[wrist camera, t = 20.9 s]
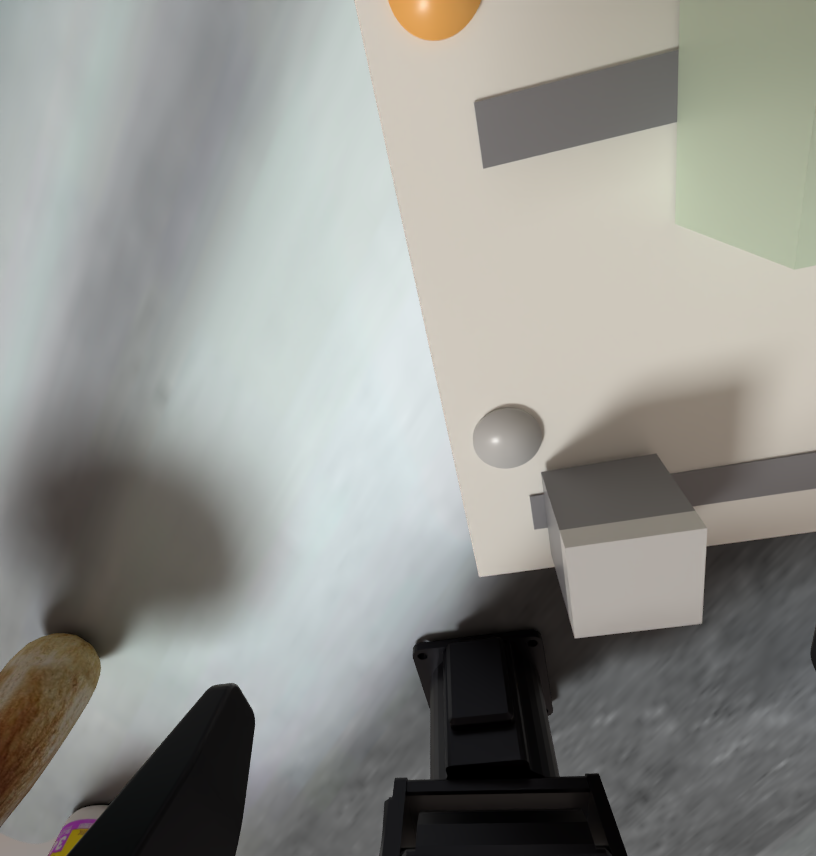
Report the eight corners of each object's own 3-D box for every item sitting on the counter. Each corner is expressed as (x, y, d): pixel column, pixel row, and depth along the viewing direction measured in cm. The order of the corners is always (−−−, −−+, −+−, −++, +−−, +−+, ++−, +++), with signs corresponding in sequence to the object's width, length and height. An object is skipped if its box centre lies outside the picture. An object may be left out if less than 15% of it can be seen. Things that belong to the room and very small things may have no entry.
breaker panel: (837, 492, 22) (877, 527, 20) (475, 544, 24) (479, 580, 22) (987, -250, 12) (1090, -319, 10) (349, -52, 14) (336, -79, 12)
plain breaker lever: (656, 539, 21) (701, 623, 17) (551, 554, 21) (574, 638, 18) (656, 453, 19) (707, 527, 15) (540, 471, 19) (564, 548, 16)
